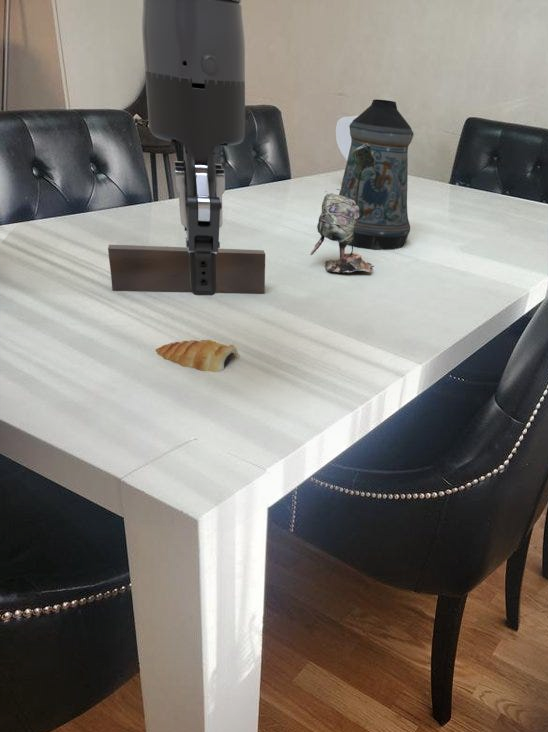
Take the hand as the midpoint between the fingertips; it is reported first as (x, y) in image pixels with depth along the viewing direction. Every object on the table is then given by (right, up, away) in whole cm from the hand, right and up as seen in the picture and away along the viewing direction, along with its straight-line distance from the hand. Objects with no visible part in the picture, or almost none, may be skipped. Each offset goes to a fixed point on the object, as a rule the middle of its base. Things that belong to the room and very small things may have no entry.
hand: (203, 292), depth 59 cm
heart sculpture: (+14, +62, +118) cm, 134 cm away
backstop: (-11, +11, +38) cm, 41 cm away
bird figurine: (+11, +20, +55) cm, 60 cm away
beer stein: (+16, +34, +76) cm, 85 cm away
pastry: (-4, -5, +15) cm, 16 cm away
